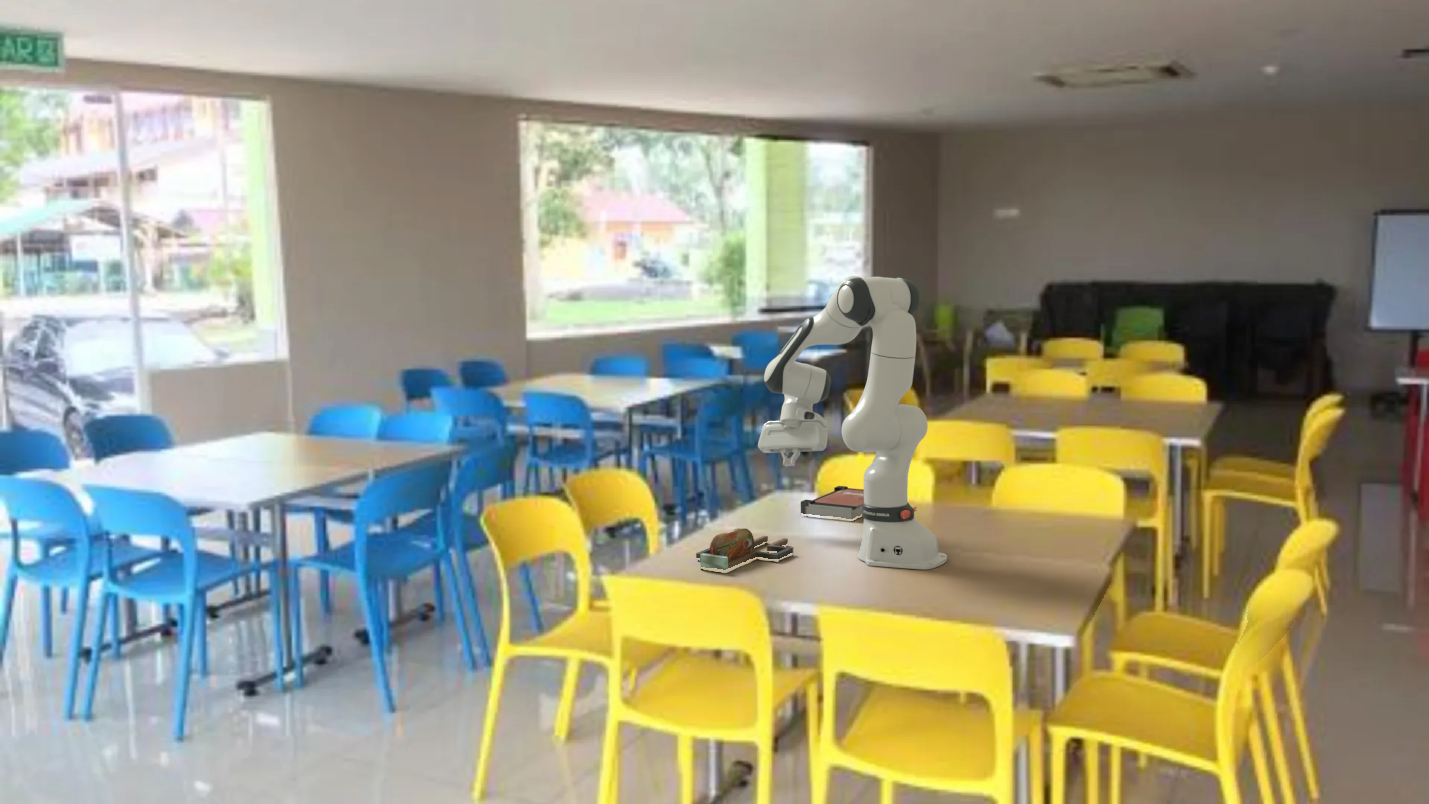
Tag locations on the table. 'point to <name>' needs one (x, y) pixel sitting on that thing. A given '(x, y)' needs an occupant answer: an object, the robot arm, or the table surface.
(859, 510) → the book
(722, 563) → the trap lane
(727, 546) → the tin
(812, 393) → the robot arm
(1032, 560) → the table surface
